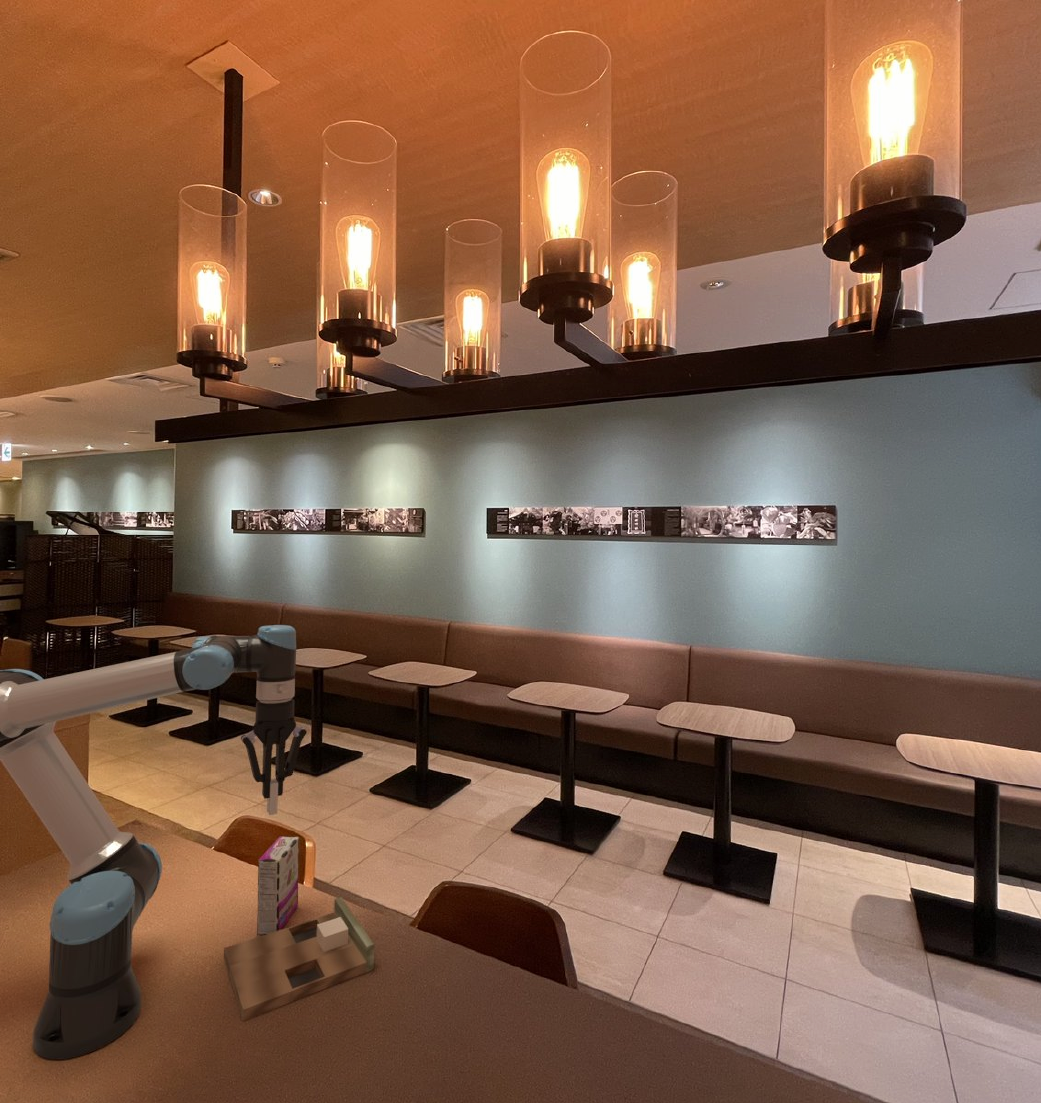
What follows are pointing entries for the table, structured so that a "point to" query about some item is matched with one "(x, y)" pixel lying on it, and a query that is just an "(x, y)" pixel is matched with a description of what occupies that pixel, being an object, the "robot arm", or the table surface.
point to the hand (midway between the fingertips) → (272, 812)
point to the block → (332, 934)
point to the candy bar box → (277, 885)
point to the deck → (295, 963)
